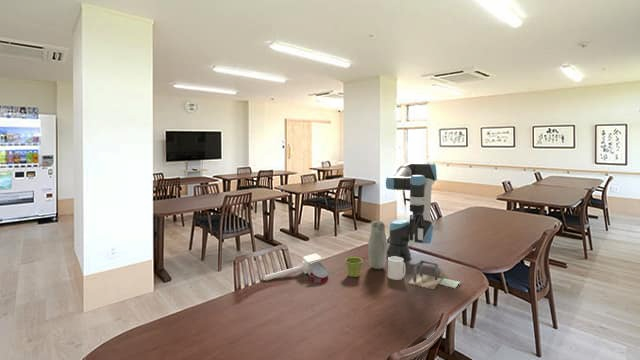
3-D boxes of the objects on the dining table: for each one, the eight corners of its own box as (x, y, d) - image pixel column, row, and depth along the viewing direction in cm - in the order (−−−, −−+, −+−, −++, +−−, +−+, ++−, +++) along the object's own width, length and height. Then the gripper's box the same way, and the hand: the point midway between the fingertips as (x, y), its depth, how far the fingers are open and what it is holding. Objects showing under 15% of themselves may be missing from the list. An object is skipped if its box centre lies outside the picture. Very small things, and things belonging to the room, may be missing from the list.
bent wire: (412, 281, 175) (413, 265, 174) (420, 275, 184) (420, 259, 183) (430, 286, 170) (431, 269, 169) (437, 279, 178) (438, 263, 177)
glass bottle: (365, 268, 196) (365, 221, 193) (375, 263, 204) (375, 218, 200) (379, 273, 189) (380, 224, 186) (389, 267, 197) (390, 221, 194)
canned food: (323, 284, 187) (331, 268, 187) (324, 290, 177) (333, 273, 177) (305, 275, 186) (313, 259, 186) (305, 280, 176) (314, 263, 176)
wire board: (408, 283, 175) (408, 281, 175) (418, 274, 186) (418, 273, 186) (433, 290, 167) (433, 288, 167) (442, 280, 178) (442, 278, 178)
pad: (439, 285, 173) (439, 283, 173) (444, 280, 179) (444, 278, 179) (455, 289, 168) (455, 287, 168) (460, 283, 174) (460, 281, 174)
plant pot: (351, 279, 181) (351, 264, 180) (342, 273, 189) (342, 258, 188) (365, 276, 185) (365, 261, 184) (356, 270, 193) (356, 256, 192)
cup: (398, 283, 175) (399, 264, 174) (384, 275, 186) (385, 257, 185) (411, 280, 179) (411, 262, 178) (396, 272, 190) (396, 255, 189)
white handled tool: (322, 258, 187) (265, 273, 176) (324, 273, 189) (268, 289, 178) (316, 253, 196) (262, 267, 185) (318, 267, 197) (264, 282, 186)
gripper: (415, 208, 168) (414, 250, 170) (431, 201, 188) (430, 238, 190) (401, 207, 172) (400, 247, 174) (418, 200, 192) (417, 236, 195)
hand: (416, 242), depth 182 cm, fingers open, 13 cm apart
